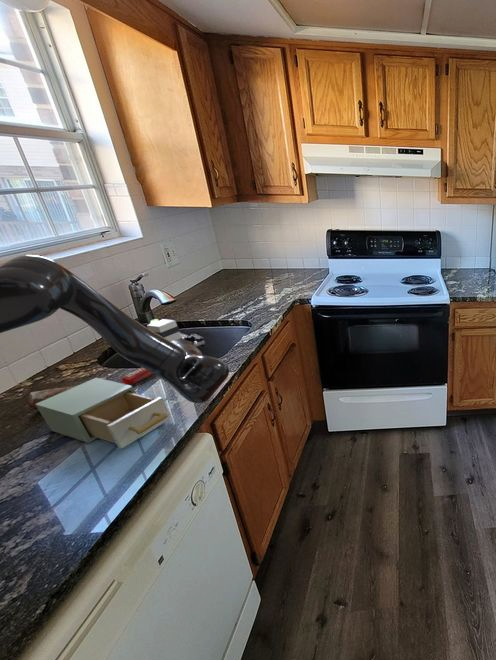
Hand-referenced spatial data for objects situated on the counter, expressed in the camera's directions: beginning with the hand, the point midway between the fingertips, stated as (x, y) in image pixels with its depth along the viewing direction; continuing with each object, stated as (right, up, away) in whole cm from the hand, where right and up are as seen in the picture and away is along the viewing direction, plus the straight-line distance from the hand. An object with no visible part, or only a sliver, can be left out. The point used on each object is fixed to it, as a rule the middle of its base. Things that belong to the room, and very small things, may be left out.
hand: (166, 340), depth 103 cm
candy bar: (-21, -12, +20) cm, 31 cm away
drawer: (-2, -23, -8) cm, 25 cm away
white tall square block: (+2, -11, +3) cm, 11 cm away
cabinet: (-16, -22, -3) cm, 28 cm away
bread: (-32, -18, +7) cm, 37 cm away
